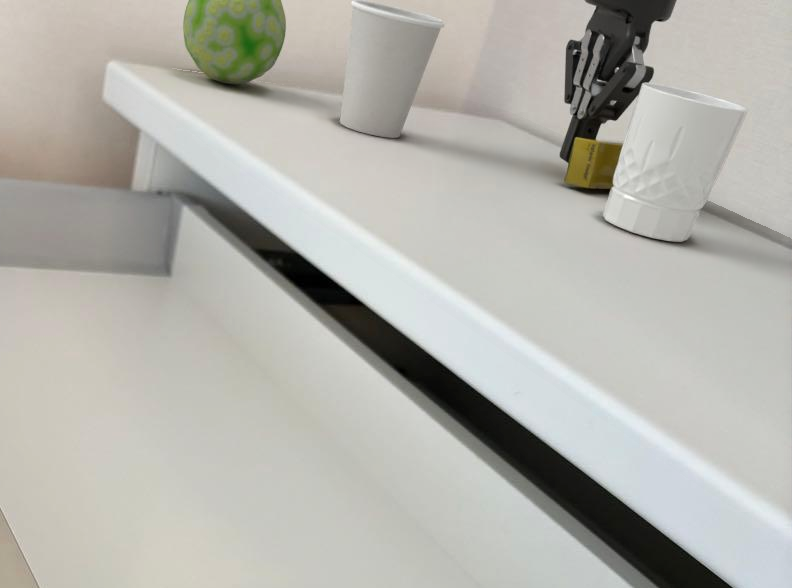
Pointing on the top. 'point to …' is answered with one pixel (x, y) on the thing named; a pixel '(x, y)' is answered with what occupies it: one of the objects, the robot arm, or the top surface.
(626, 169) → the white cup
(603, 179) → the medication box
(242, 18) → the decorative ball
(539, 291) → the top surface
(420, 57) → the dixie cup
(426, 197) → the top surface
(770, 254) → the top surface
